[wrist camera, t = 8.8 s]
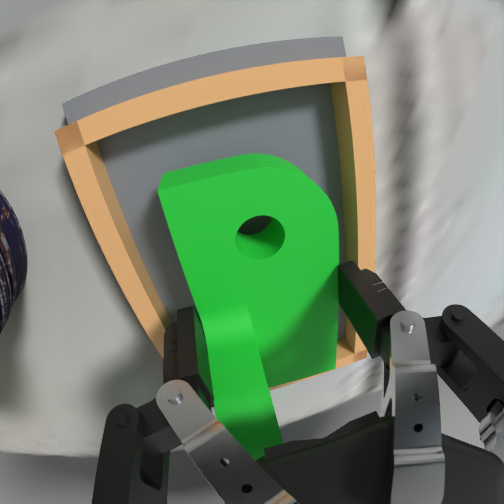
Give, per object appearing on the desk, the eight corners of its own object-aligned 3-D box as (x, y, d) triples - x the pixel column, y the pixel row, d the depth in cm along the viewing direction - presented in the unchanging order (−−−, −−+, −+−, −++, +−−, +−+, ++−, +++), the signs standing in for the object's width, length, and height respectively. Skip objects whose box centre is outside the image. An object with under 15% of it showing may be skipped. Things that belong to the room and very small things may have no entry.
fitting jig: (332, 38, 11) (359, 33, 9) (351, 341, 22) (365, 365, 20) (70, 101, 11) (47, 107, 8) (197, 386, 21) (200, 414, 19)
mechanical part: (324, 344, 18) (374, 458, 11) (227, 369, 18) (251, 494, 11) (314, 141, 12) (457, 238, 5) (163, 173, 11) (126, 323, 5)
